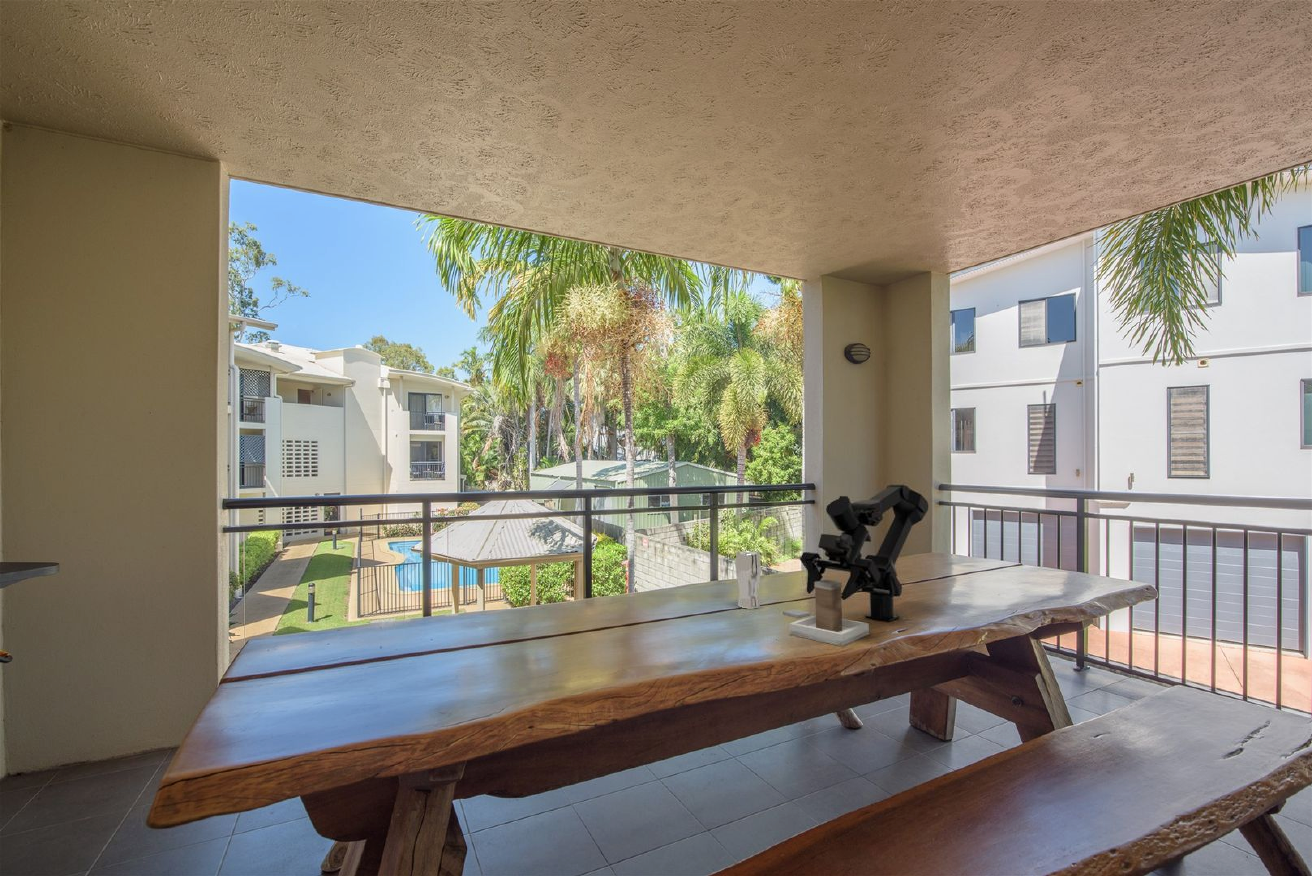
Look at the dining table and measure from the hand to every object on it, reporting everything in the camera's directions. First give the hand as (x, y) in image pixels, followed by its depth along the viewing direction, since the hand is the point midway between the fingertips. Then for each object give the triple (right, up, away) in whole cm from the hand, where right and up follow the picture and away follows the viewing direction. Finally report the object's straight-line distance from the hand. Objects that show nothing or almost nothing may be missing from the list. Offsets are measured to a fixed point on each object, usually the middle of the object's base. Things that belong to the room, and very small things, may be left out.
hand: (824, 595), depth 132 cm
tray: (+1, -9, 0) cm, 9 cm away
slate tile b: (-2, -10, +19) cm, 22 cm away
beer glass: (-13, -11, +28) cm, 33 cm away
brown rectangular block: (+1, -8, 0) cm, 8 cm away
